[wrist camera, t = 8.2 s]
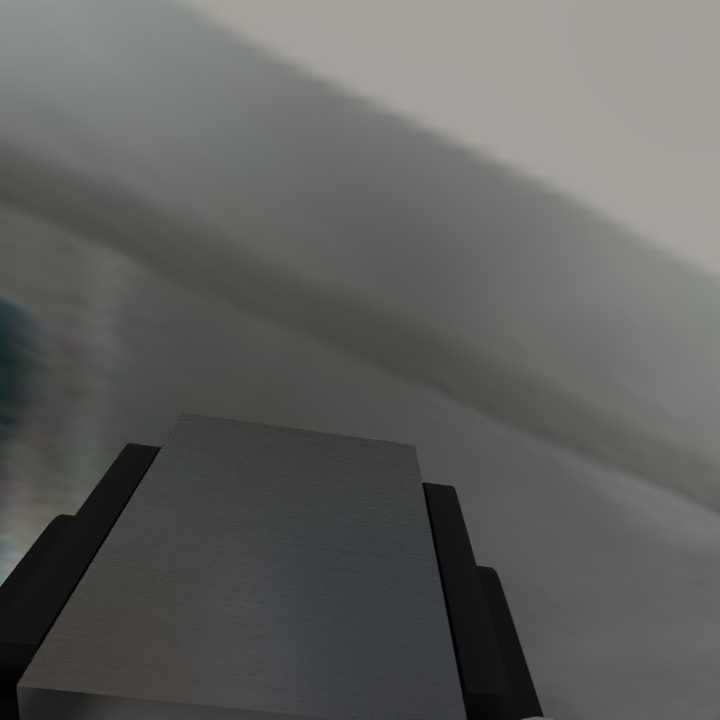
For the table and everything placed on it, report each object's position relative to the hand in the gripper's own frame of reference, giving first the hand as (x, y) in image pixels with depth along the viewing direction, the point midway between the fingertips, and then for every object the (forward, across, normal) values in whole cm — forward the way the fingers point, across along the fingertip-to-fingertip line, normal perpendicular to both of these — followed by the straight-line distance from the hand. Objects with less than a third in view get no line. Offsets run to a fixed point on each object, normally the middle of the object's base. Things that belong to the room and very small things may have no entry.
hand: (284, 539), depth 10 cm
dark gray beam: (+1, 0, +6) cm, 6 cm away
